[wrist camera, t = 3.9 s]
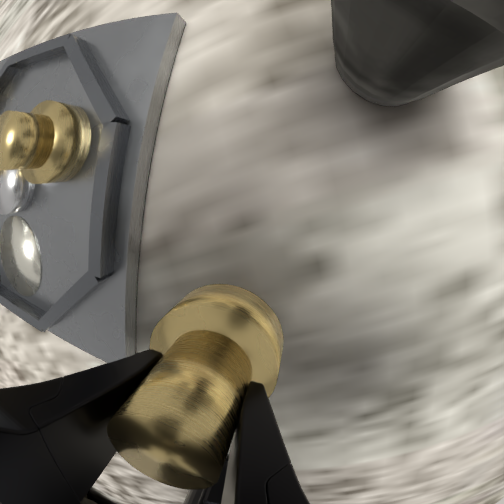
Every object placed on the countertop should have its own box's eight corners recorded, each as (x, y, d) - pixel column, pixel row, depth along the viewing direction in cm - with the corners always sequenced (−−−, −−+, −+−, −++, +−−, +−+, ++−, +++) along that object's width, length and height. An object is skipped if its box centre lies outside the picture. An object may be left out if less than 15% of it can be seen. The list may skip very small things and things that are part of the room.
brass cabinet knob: (268, 393, 11) (238, 516, 5) (169, 364, 12) (95, 461, 6) (296, 301, 10) (279, 432, 4) (178, 270, 11) (66, 352, 5)
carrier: (135, 361, 17) (85, 415, 11) (-18, 275, 19) (-59, 291, 14) (186, 22, 11) (133, -33, 6) (0, 67, 14) (-45, 60, 8)
